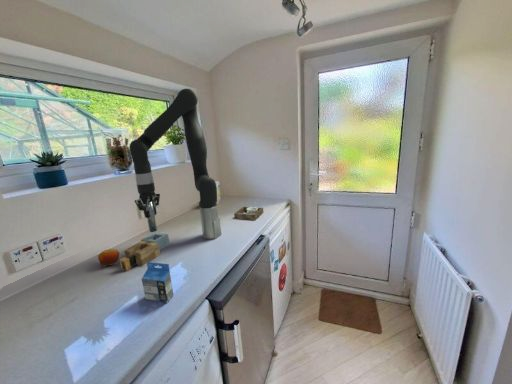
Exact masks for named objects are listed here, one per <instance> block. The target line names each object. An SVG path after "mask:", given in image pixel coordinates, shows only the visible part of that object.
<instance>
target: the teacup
mask: <svg viewBox="0 0 512 384" xmlns="http://www.w3.org/2000/svg"><path fill="white" fill-rule="evenodd" d="M248 207H249V208H247V212H246V214H255V213H257V210H258V208H259V207H258V206H257V207H256V206H248Z"/></svg>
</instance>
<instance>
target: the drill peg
mask: <svg viewBox="0 0 512 384" xmlns="http://www.w3.org/2000/svg"><path fill="white" fill-rule="evenodd" d="M145 204H146V203H145ZM145 208H146V206H145ZM148 210H149V215H150V218H146V219H147V223H148V224H147V225H148V230H149V233H156V232H157V231H158V225H157V221H156V215H155V213H154V207H153V201H152V202H149V206H148Z"/></svg>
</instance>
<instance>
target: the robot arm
mask: <svg viewBox="0 0 512 384" xmlns="http://www.w3.org/2000/svg"><path fill="white" fill-rule="evenodd" d="M198 100H199V99H198V96H197V93H196V92H195V91H194V90H192V89H190V88H183V89H181V90H179V91H178V92H177V96H176V97H175V98H174V100H173V101H172V102H171V103H170V105H169V106H168V107H167V108H166V109H165V110H164V111H163V112H162V113H161V114H160V115H159V116H157V118H156V119H154V120H153V121H152V122H151V123H150V124H149V125H148V126H147V127H146V128H145V130H144V131H143V132H142V134H141V135H140V136H139V137H138V138H136V139H134V140H132V141H130V143H129V146H128V148H129V153H130V157H131V160H132V163H133V168H134V173H135V175H134V176H135V183H136V188H137V192H138V194H139V198H138V199H135V200H134V203H135V205H136V206H137V208H138V210H139V211H143V214H144V215H143V216H144V218H145V219H147V218H150V215H149V210H148V206H149V202H152V201H153V207H154V213H155V216H157V213H158V212H157V206H159V205H160V199H161V195H160V193H156V187H155V181H154V176H153V172H152V168H151V167H152V166H151V163H150V160H149V156H148V152H149V150H150V149H151V148H152V147H153V146H154V144H155V143H157V141H159V140H161V138H162V137H164V135H165V134H166V133H167V132H168V131H169V130H170V129H171V128H172V126H173V125H174V124H175V123H176V122H177V121H178V119H180V118H182V121H183V122H182V123H183V127H184V136H185V143H186V146H187V151H188V155H189V160H190V163H191V166H192V170H193V179H194V187H195V189H196V190H197V192H198V193H199V202H198V207H199V215H200V222H201V232H202V238H204V239H206V240H212V239H215V240H216V239H217V238H218V237H219V236H221V235H222V226H221V218H219V214H218V213H219V212H218V206H217V205H218V204H217V187H216V183H215V182H216V181H215V180H214V178H212V177H210V175H209V173H208V167H207V157H208V148H207V143H206V138H205V135H204V133H203V130H202V127H201V124H200V121H199V117H198V116H199V115H198V111H197V105H198ZM145 203H146V204H145ZM145 206H146V208H145Z"/></svg>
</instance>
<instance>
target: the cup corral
mask: <svg viewBox="0 0 512 384" xmlns="http://www.w3.org/2000/svg"><path fill="white" fill-rule="evenodd" d="M249 207H250V206H242V207H241V208H239V209H238V210H237V211H236V212H234V213H233V214H234V215H233V216H234V219H236V220H246V219H249V221H250V220H251V221H256V220H257V219H259V218H260V216H262V214H264V207H257V208H258V210H257V213H255V214H247V208H249ZM245 212H246V213H245Z"/></svg>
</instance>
